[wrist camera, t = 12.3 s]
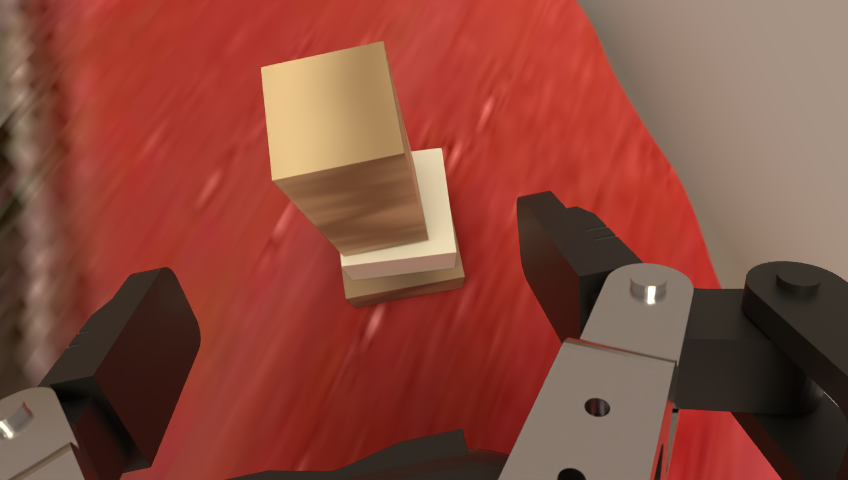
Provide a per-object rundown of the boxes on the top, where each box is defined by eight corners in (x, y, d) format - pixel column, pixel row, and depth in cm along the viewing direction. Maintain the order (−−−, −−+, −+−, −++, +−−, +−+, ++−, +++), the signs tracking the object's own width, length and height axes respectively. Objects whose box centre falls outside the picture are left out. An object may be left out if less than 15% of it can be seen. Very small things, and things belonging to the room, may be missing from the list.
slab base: (355, 308, 33) (345, 298, 30) (340, 207, 35) (330, 188, 32) (462, 288, 33) (464, 276, 30) (441, 189, 35) (441, 168, 32)
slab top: (352, 280, 30) (341, 266, 27) (344, 185, 32) (333, 161, 28) (454, 267, 30) (456, 252, 27) (441, 173, 32) (441, 148, 28)
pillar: (344, 256, 27) (272, 180, 17) (333, 178, 28) (261, 67, 18) (428, 239, 26) (404, 153, 17) (413, 161, 28) (383, 41, 18)
